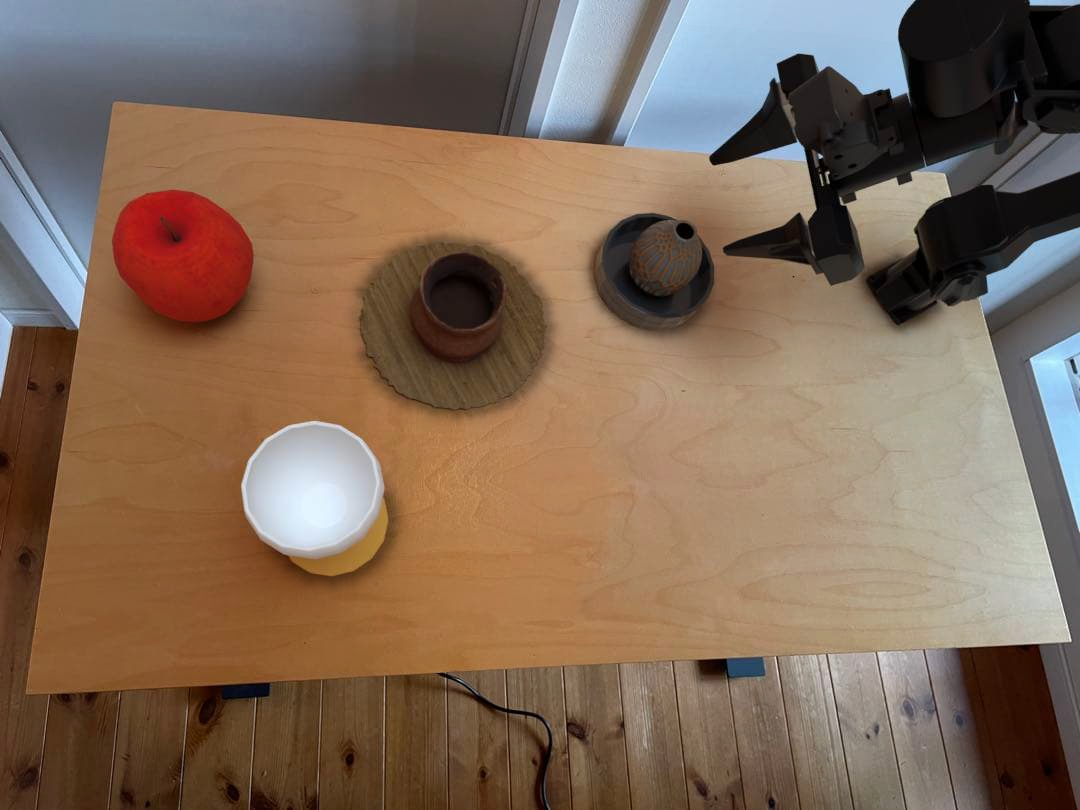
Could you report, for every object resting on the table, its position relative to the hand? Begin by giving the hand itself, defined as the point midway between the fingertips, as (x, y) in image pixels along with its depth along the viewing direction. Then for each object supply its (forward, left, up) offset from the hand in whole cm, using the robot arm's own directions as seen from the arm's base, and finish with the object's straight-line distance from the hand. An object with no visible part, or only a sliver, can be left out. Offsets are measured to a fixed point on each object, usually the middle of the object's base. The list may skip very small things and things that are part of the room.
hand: (717, 205), depth 59 cm
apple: (+41, -17, -14) cm, 47 cm away
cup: (+40, +7, -14) cm, 43 cm away
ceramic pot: (+22, -5, -14) cm, 26 cm away
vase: (+1, -1, -13) cm, 13 cm away
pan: (+1, -1, -13) cm, 13 cm away
